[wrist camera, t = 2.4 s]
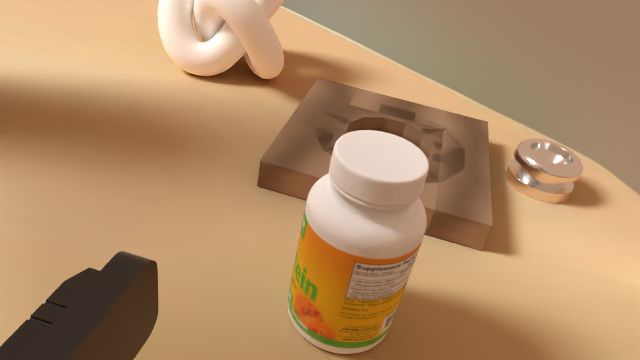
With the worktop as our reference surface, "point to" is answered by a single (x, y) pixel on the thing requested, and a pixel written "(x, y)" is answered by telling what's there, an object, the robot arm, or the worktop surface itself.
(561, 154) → the metal grooved wheel
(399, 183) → the supplement bottle
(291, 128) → the socket board
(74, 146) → the worktop surface
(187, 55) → the white knot
